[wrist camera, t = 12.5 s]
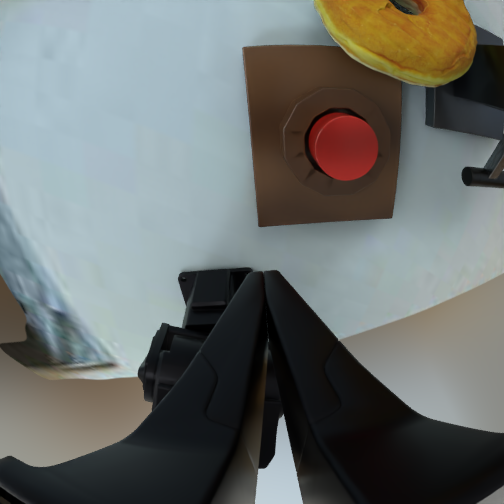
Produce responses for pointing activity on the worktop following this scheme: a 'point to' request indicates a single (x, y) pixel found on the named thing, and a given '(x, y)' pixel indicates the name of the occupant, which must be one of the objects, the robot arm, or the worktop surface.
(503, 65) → the bracket
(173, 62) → the worktop surface
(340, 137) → the button
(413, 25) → the yellow donut
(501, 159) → the lever
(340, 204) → the button block
